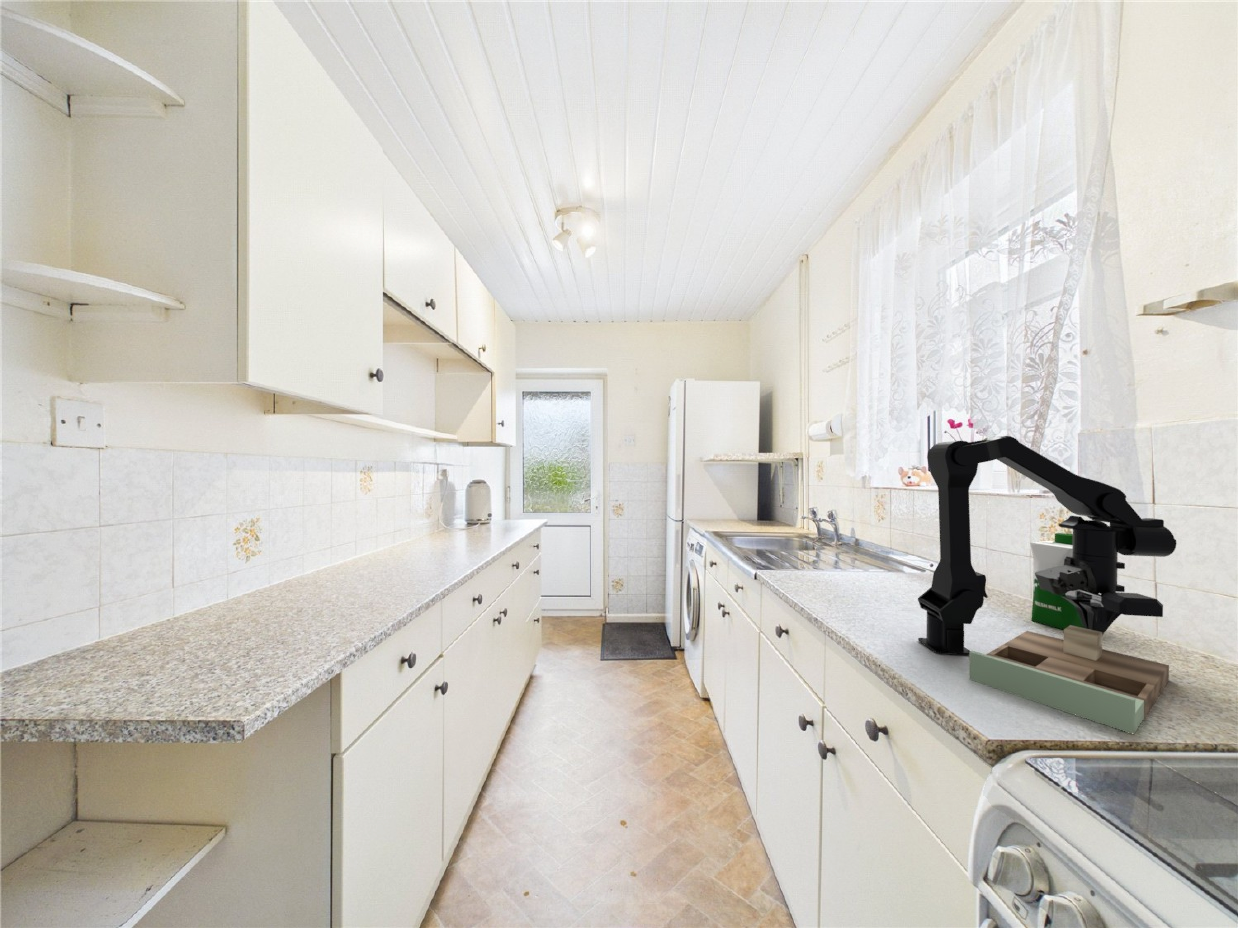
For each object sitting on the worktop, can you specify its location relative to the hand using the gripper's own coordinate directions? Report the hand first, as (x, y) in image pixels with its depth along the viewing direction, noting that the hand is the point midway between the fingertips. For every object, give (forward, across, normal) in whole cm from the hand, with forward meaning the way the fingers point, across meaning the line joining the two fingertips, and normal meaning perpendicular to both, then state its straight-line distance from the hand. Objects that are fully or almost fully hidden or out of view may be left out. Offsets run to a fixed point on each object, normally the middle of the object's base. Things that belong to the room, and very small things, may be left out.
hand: (1093, 639), depth 83 cm
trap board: (+3, +8, -9) cm, 12 cm away
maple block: (+1, +5, -6) cm, 8 cm away
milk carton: (+4, -19, +8) cm, 21 cm away
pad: (+4, +17, -19) cm, 26 cm away
